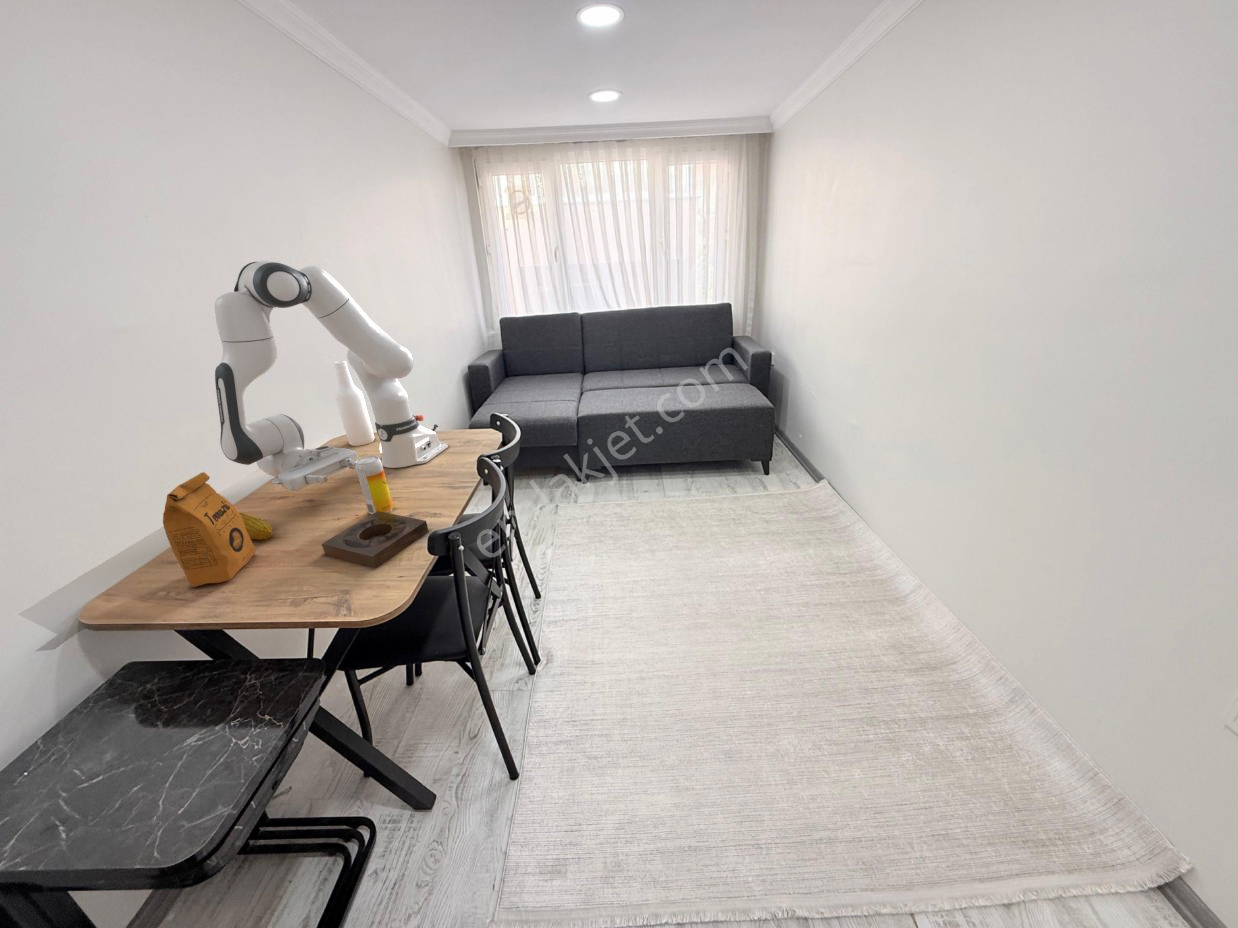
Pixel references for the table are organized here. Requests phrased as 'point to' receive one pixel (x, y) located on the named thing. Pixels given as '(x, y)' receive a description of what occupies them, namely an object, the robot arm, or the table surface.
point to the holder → (377, 551)
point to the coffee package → (205, 532)
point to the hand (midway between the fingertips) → (340, 472)
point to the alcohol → (352, 408)
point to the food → (256, 527)
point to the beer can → (374, 484)
